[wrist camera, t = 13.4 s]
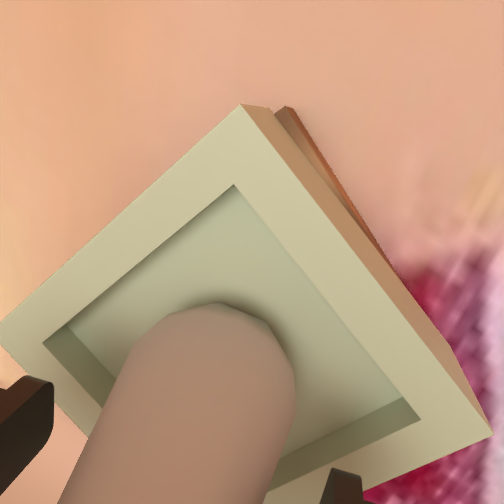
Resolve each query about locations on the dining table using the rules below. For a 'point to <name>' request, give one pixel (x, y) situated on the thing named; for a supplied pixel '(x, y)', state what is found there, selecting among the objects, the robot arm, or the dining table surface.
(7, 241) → the dining table surface
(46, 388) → the robot arm
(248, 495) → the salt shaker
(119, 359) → the top block
